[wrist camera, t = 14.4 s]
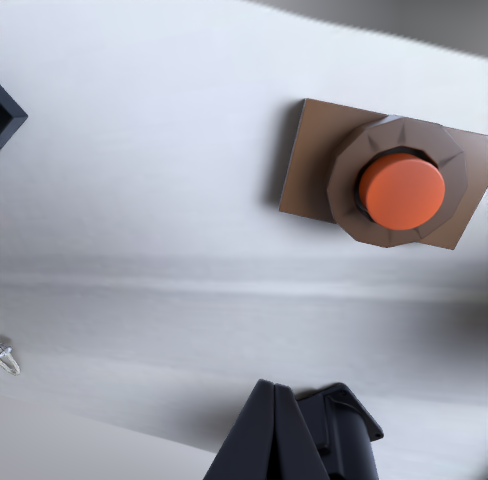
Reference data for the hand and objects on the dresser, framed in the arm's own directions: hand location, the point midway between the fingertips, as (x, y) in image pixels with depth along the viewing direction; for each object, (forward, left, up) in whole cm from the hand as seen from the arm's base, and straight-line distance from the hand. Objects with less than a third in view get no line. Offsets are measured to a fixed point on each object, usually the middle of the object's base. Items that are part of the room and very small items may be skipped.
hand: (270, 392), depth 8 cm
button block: (-1, -6, -13) cm, 14 cm away
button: (-1, -6, -10) cm, 12 cm away
